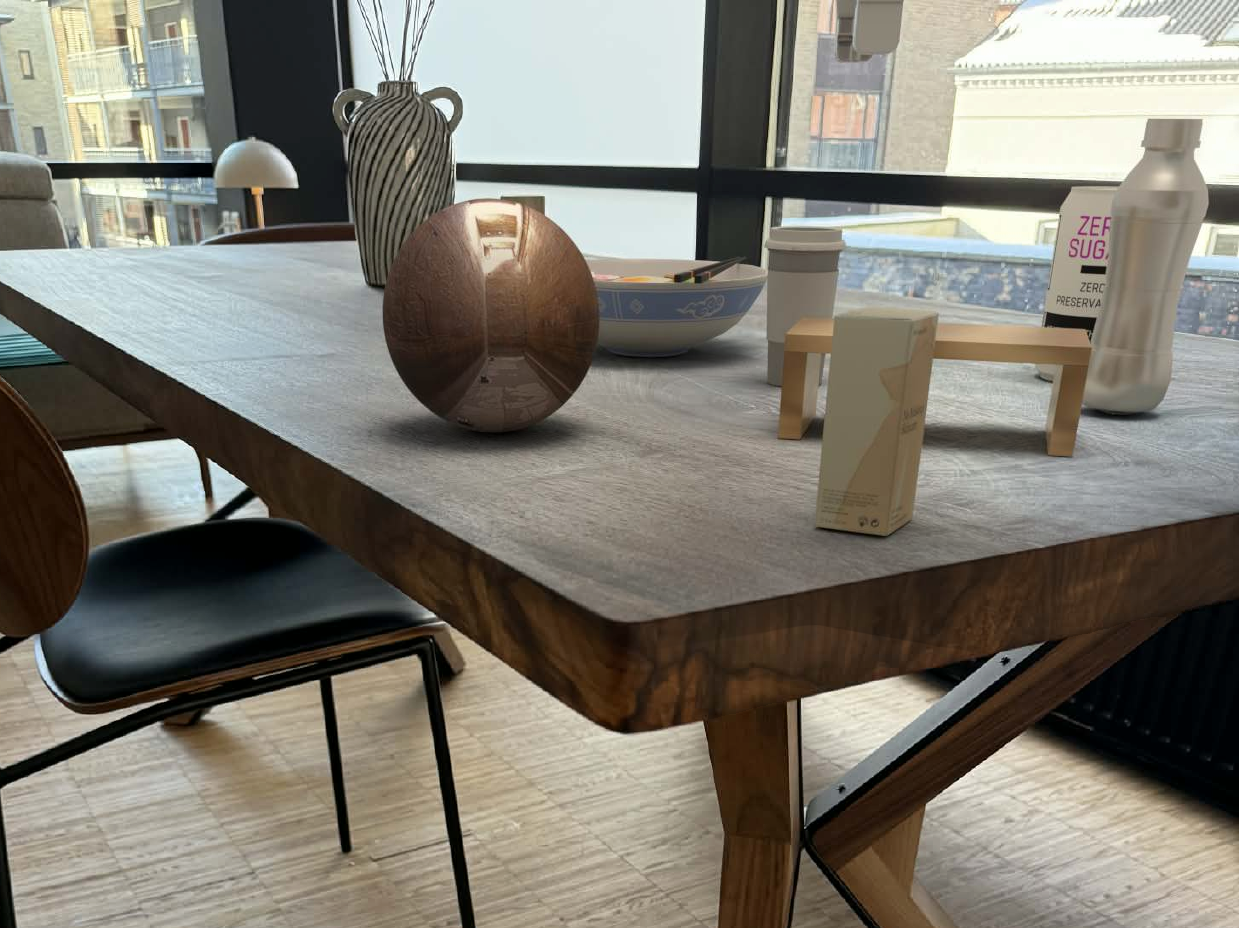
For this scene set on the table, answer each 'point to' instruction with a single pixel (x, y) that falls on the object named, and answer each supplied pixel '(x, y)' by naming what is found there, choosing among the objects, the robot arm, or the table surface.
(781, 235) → the cup
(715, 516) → the table surface
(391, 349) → the copper ball
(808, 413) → the shelf
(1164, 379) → the plastic bottle
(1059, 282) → the supplement can
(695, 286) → the ramen bowl
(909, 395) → the box
